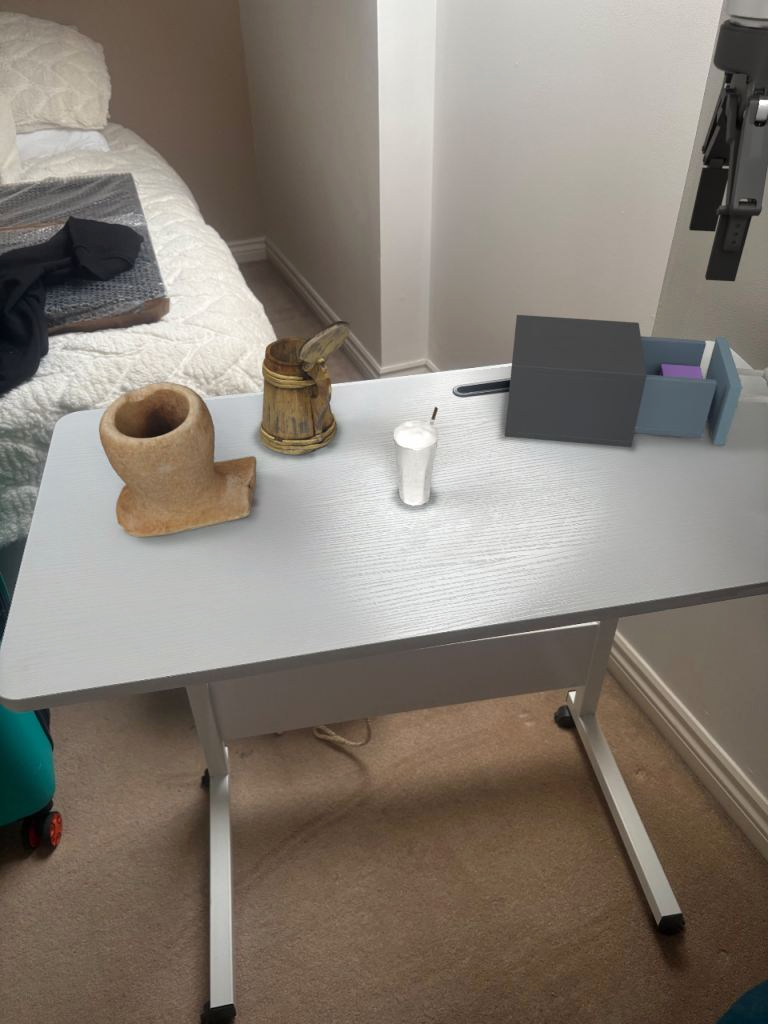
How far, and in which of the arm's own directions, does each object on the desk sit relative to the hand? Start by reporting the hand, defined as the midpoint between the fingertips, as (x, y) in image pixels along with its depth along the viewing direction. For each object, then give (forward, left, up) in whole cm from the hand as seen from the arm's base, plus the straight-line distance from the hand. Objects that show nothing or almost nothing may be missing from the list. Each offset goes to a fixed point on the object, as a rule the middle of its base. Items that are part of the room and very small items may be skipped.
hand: (710, 253), depth 87 cm
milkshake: (+28, +19, -21) cm, 40 cm away
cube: (0, 0, -19) cm, 19 cm away
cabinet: (+12, 0, -21) cm, 24 cm away
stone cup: (+51, +26, -21) cm, 61 cm away
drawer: (-2, 0, -20) cm, 20 cm away
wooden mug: (+42, +11, -21) cm, 48 cm away
